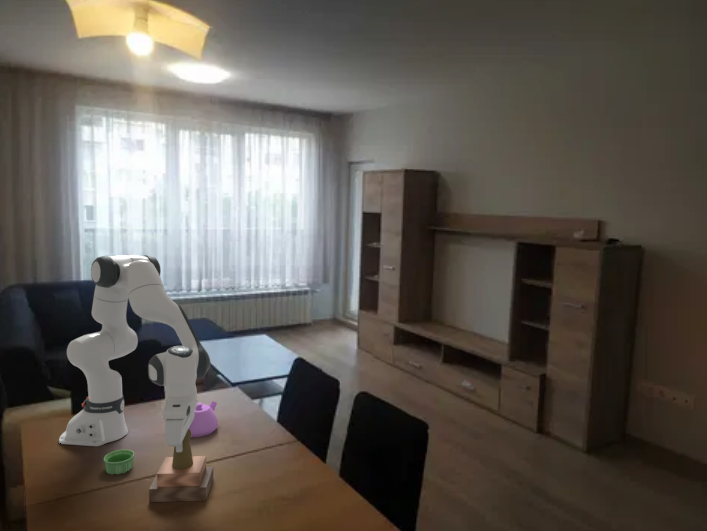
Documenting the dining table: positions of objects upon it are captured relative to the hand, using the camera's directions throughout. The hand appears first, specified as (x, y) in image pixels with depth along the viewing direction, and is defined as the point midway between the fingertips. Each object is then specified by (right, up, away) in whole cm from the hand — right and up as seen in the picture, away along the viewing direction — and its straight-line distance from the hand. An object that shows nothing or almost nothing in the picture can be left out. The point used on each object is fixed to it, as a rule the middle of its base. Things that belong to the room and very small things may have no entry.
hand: (182, 446), depth 151 cm
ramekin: (-25, -12, +13) cm, 30 cm away
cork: (0, -6, +1) cm, 6 cm away
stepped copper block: (0, -14, +1) cm, 14 cm away
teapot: (-7, -9, +43) cm, 44 cm away
